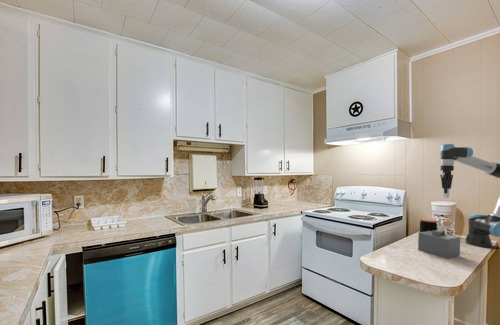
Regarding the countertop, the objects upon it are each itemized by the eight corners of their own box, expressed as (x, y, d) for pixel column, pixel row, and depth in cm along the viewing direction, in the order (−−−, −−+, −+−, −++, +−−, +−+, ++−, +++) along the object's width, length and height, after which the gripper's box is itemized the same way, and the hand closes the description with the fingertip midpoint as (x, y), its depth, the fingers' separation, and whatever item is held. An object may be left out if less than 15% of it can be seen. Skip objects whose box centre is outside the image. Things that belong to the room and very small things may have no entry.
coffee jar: (440, 245, 180) (440, 221, 180) (425, 245, 180) (426, 221, 180) (429, 241, 190) (430, 218, 191) (416, 240, 191) (416, 217, 191)
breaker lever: (438, 231, 167) (448, 220, 162) (441, 234, 165) (452, 223, 160) (433, 232, 165) (444, 221, 159) (437, 235, 163) (447, 223, 158)
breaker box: (429, 247, 175) (429, 226, 176) (459, 255, 159) (460, 233, 159) (418, 249, 169) (418, 228, 169) (448, 259, 153) (449, 235, 153)
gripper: (445, 165, 183) (445, 196, 183) (436, 165, 177) (435, 197, 177) (457, 165, 176) (457, 198, 176) (448, 165, 170) (447, 198, 170)
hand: (446, 197), depth 176 cm, fingers closed
